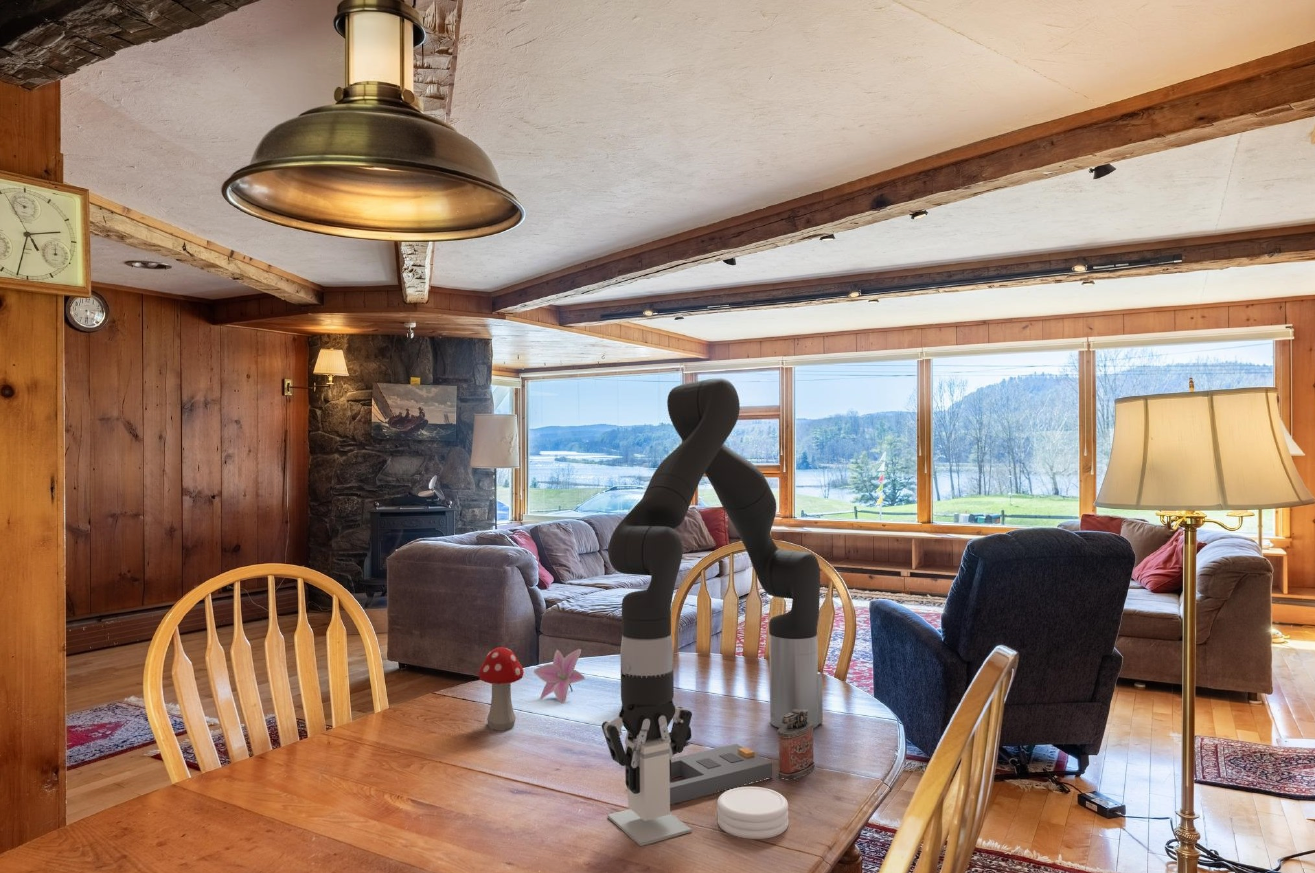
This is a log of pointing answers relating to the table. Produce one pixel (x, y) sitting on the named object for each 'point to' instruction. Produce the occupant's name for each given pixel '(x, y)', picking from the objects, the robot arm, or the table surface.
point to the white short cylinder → (752, 812)
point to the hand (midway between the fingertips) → (648, 787)
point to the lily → (560, 675)
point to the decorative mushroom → (501, 685)
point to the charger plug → (652, 781)
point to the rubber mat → (648, 827)
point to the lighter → (796, 745)
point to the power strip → (716, 771)
